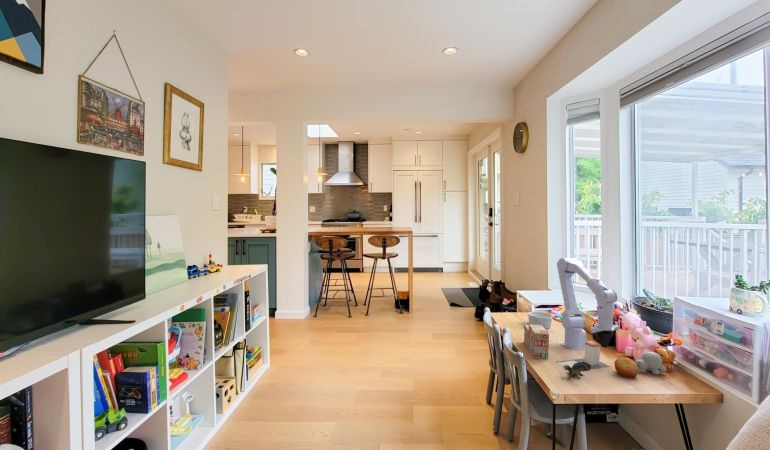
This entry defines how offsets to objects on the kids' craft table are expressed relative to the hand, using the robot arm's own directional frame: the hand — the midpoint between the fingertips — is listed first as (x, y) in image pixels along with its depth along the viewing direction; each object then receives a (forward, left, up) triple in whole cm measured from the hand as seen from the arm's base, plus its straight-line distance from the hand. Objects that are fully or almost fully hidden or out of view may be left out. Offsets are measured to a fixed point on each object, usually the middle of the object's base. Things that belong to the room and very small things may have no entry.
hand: (604, 347), depth 156 cm
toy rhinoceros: (-9, +12, -7) cm, 17 cm away
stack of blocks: (+21, -19, -7) cm, 29 cm away
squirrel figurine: (+24, +9, -7) cm, 26 cm away
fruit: (+3, +12, -7) cm, 15 cm away
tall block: (+7, 0, -6) cm, 9 cm away
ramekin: (-8, -50, -7) cm, 51 cm away
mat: (+12, 0, -7) cm, 14 cm away
